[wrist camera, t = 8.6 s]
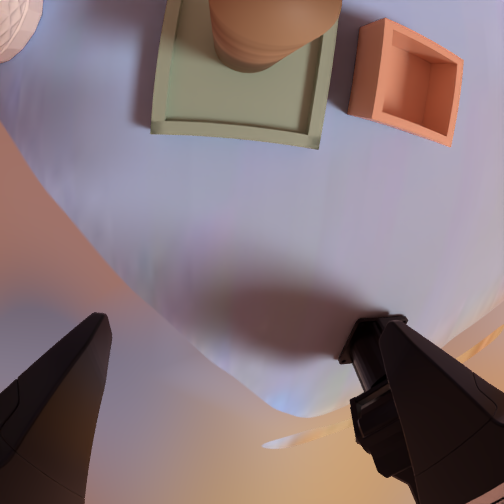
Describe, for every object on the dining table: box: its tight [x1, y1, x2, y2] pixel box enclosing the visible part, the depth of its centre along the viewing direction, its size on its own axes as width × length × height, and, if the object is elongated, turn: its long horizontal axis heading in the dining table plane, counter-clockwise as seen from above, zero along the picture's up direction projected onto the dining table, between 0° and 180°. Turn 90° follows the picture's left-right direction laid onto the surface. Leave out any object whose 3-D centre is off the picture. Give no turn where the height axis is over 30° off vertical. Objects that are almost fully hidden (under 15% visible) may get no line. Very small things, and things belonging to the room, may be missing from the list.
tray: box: [150, 0, 339, 150], centre depth 13 cm, size 12×10×2 cm
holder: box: [347, 18, 464, 147], centre depth 14 cm, size 7×7×4 cm
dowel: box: [208, 0, 342, 73], centre depth 9 cm, size 4×4×9 cm
